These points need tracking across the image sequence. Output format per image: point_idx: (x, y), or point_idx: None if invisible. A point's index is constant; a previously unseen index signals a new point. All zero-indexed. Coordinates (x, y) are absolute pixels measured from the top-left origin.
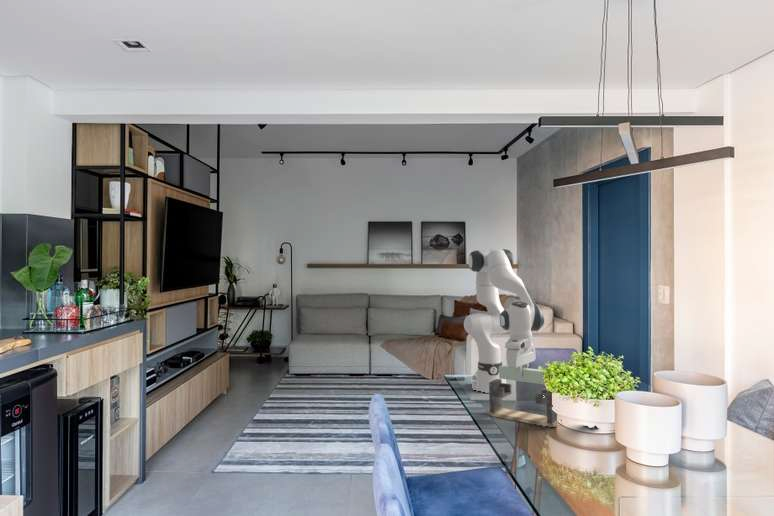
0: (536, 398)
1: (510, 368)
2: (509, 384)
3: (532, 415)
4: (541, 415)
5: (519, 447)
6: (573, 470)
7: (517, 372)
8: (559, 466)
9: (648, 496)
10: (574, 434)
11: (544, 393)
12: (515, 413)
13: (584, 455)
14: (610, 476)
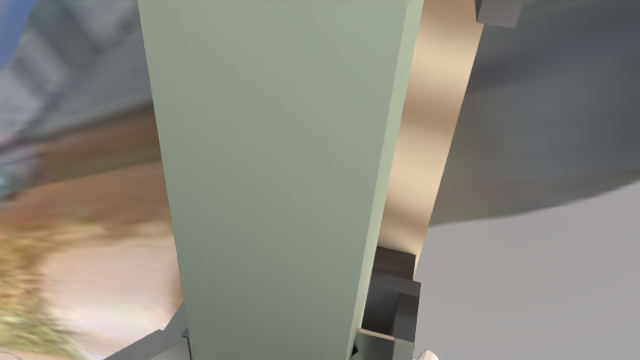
0: None
1: (186, 253)
2: (495, 5)
3: (409, 146)
4: (431, 193)
5: (38, 156)
6: (36, 297)
7: (169, 326)
8: (27, 271)
9: None
10: None
11: (391, 329)
12: None
13: (136, 321)
14: (73, 354)
